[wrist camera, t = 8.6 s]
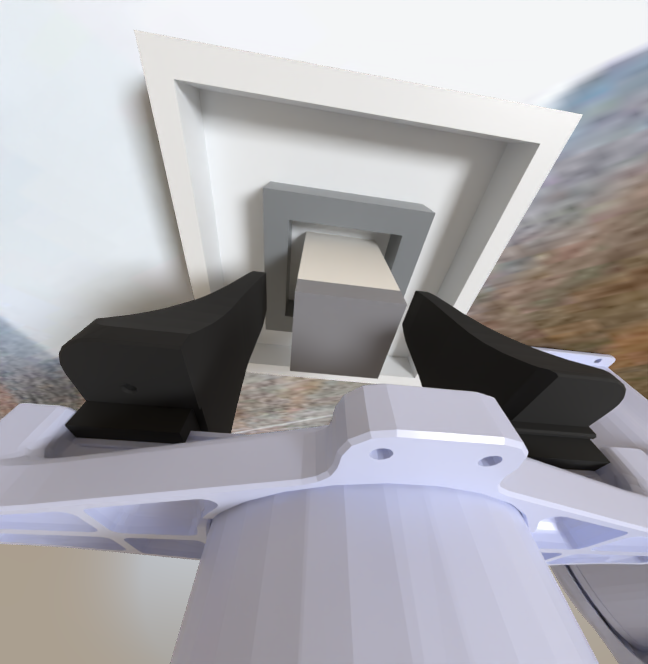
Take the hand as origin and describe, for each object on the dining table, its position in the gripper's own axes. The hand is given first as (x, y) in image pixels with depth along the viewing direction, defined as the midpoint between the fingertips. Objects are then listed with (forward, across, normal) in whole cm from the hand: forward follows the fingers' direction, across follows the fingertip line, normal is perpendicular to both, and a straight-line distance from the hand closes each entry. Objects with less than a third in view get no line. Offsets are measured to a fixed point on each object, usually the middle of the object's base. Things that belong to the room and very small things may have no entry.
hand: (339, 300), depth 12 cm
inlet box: (+5, 0, 0) cm, 5 cm away
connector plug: (+4, 0, 0) cm, 4 cm away
